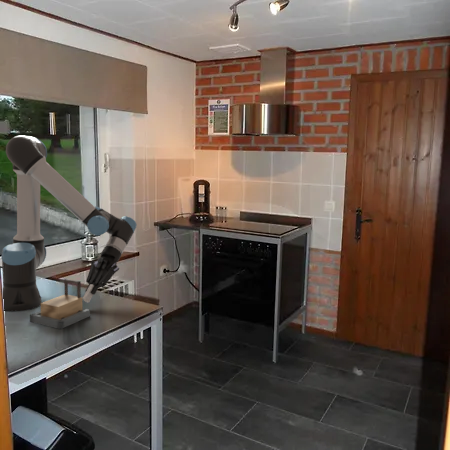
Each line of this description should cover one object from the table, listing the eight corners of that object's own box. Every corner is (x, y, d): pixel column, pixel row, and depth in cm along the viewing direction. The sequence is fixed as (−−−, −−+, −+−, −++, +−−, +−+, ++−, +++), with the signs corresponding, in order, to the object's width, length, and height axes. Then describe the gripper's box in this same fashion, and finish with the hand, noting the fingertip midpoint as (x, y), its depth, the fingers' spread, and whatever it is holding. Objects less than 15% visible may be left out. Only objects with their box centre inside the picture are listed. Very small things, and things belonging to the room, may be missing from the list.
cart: (39, 322, 160) (38, 286, 158) (64, 311, 171) (63, 278, 169) (60, 326, 156) (59, 290, 154) (83, 316, 167) (83, 281, 165)
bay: (30, 321, 159) (29, 314, 159) (60, 309, 172) (60, 303, 172) (60, 329, 154) (60, 322, 153) (89, 316, 167) (89, 309, 166)
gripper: (130, 257, 186) (103, 308, 174) (105, 253, 192) (77, 302, 179) (122, 246, 181) (93, 298, 168) (96, 243, 186) (67, 293, 174)
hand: (85, 300), depth 174 cm, fingers closed
